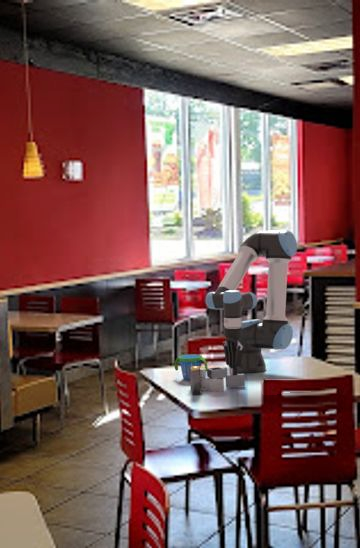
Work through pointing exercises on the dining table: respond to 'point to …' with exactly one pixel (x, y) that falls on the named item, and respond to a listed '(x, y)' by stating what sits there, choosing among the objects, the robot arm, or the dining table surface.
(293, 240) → the robot arm
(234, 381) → the grey stacked cubes
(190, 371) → the block
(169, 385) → the dining table surface
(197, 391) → the pin
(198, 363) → the snack cup
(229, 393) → the dining table surface
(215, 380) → the fixed leaf
